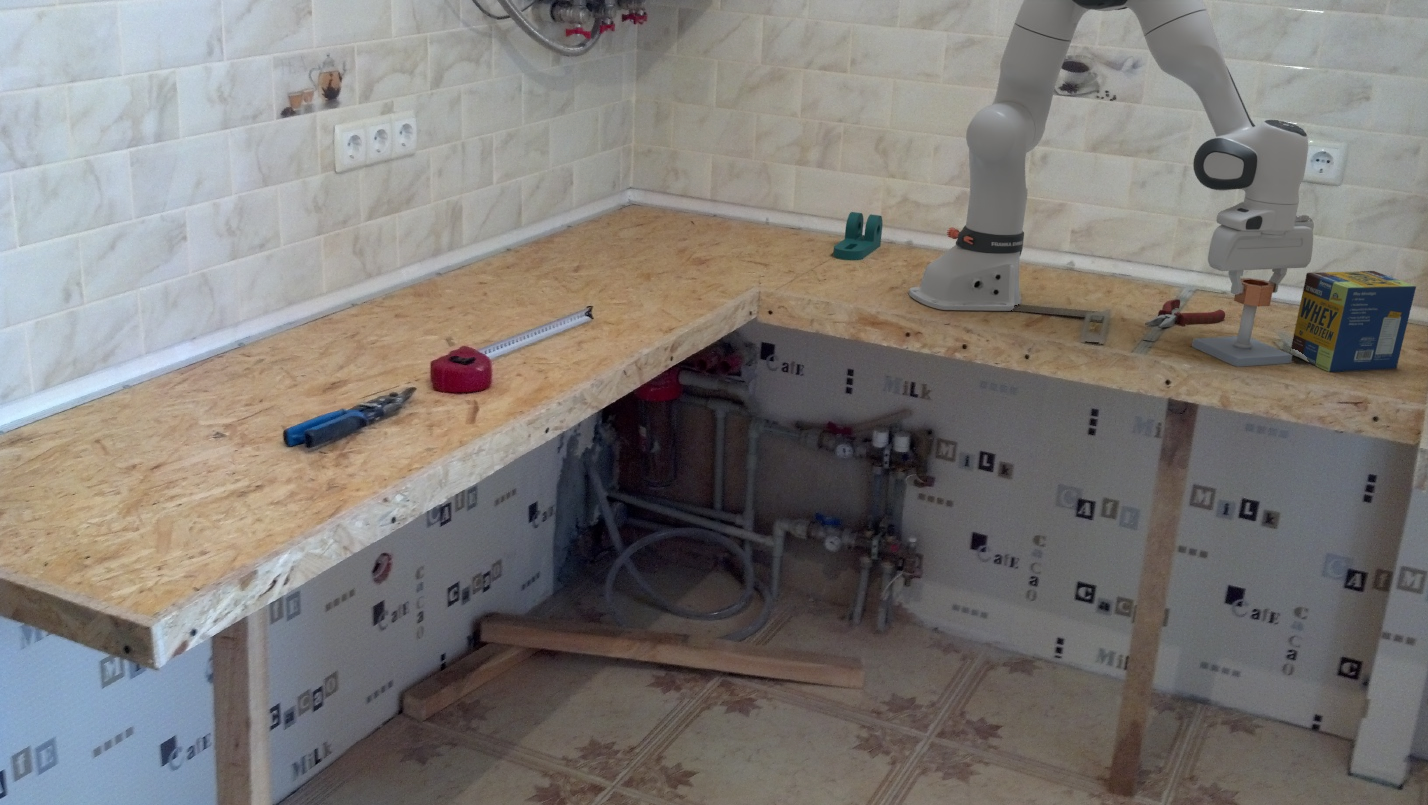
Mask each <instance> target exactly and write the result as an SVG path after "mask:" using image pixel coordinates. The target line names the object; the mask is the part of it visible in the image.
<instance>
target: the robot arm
mask: <svg viewBox="0 0 1428 805" xmlns="http://www.w3.org/2000/svg"><path fill="white" fill-rule="evenodd" d="M1126 9H1129V10H1131V11H1132V12H1133V13H1134V14H1135V16H1136V18H1137V20H1138V23H1139V26H1140V28H1141V30H1142V33H1143V36H1144V39H1145V42H1146V45H1147V47H1148V49H1149V52H1150V54H1151V55H1152V58H1153V59H1154V60H1155V62H1156V64H1157V65H1158V68H1160V70H1161V71H1162V72H1163V73H1165V74H1166V75H1167V74H1168V75H1169V76H1172V77H1173V78H1176V79H1177V80H1179V81H1182V83H1184V84H1186V85H1187V86H1188V87H1190V88H1191V89H1192V91H1194V93H1195V94H1196V95H1197V96H1198V98H1199V100H1200V102H1201V104H1202V106H1203V109H1204V112H1205V113H1206V115H1207V118H1208V120H1209V122H1210V125H1211V127H1212V129H1213V131H1214V134H1215V137H1213V138H1210V139H1208V140H1206V141H1205V142H1203V143H1202V144H1201V145H1200V146H1199V148H1198V149H1197V151H1195V155H1194V158H1193V165H1192V166H1193V172H1194V175H1195V176H1196V177H1195V178H1196V179H1197V180H1198V182H1200V184H1201V185H1203V187H1205V188H1208V189H1210V190H1215V191H1219V192H1220V191H1221V192H1222V191H1224V192H1225V191H1232V190H1242V191H1244V192H1245V194H1244V199H1243V201H1242V202H1240V203H1237V204H1235V205H1232V206H1231V207H1229V208H1225V209H1223V210H1220V211H1218V213H1217V215H1216V220H1215V221H1216V223H1217V224H1219V226H1216V228H1215V229H1214V231H1213V233H1212V237H1211V240H1210V244H1209V249H1208V254H1207V262H1208V265H1209V266H1210V268H1212V269H1214V270H1217V271H1221V272H1228V276H1229V280H1230V282H1231V285H1230V286H1231V287H1230V288H1231V289H1230V293H1231V294H1233V295H1234V296H1235V295H1238V294H1243V293H1244V289H1245V285H1243V284H1242V283H1241V279H1242V278H1241V277H1243V276H1244V271H1258V270H1259V271H1260V270H1271V273H1272V275H1271V276H1270V279H1269V281H1268V282H1271V283H1273V284H1274V287H1273V292H1272V294H1275V293H1277V292H1278V289H1279V284H1280V283H1281V282H1282V280H1284V278H1285V277H1286V276H1287V273H1288V272H1287V271H1288V269H1300V268H1304V269H1305V268H1307V267H1308V266H1309V264H1310V263H1311V262H1312V256H1313V249H1314V248H1313V246H1314V226H1315V223H1314V221H1313V219H1312V218H1311V217H1310V216H1309V215H1305V214H1303V215H1297V212H1298V207H1299V203H1300V196H1299V190H1300V186H1301V184H1302V182H1303V180H1304V177H1305V172H1306V168H1307V167H1306V166H1307V160H1308V151H1309V140H1308V139H1309V138H1308V134H1307V133H1306V131H1305V130H1304V129H1303V128H1302V127H1300V126H1298V125H1296V124H1294V123H1291V122H1287V121H1284V120H1279V119H1267V120H1266V119H1265V120H1263V121H1262V122H1261V123H1259V124H1257V125H1255V123H1254V122H1253V120H1252V119H1251V117H1250V115H1249V113H1248V111H1247V107H1246V106H1245V104H1244V101H1243V99H1242V97H1241V95H1240V94H1241V93H1240V92H1239V89H1238V87H1237V85H1236V83H1235V81H1234V79H1233V76H1232V73H1231V72H1230V70H1229V68H1228V66H1227V63H1226V61H1225V58H1224V56H1223V53H1222V50H1221V47H1220V45H1219V41H1218V39H1217V36H1216V32H1215V30H1214V27H1213V24H1212V21H1211V18H1210V16H1209V12H1208V10H1207V7H1206V5H1205V2H1204V0H1023V1H1022V3H1021V5H1020V8H1019V11H1018V13H1017V15H1016V19H1015V21H1014V24H1013V25H1012V29H1011V32H1010V34H1009V37H1008V40H1007V44H1006V46H1005V48H1004V52H1003V54H1002V56H1001V60H1000V64H999V67H1000V68H999V70H1000V71H999V78H998V83H997V89H996V92H995V93H996V94H995V96H994V99H993V101H992V103H991V104H990V105H987V106H985V107H983V108H982V109H980V110H979V111H978V112H977V113H976V114H975V115H974V116H973V118H972V119H971V121H970V122H969V124H968V126H967V129H966V135H965V138H966V144H967V147H968V161H969V163H968V164H969V177H970V178H969V179H970V180H969V183H970V184H969V185H970V186H969V196H968V204H967V205H968V206H967V211H966V212H967V214H966V222H965V225H964V226H963V227H962V229H961V231H960V230H959V229H958V228H954V227H949V228H948V229H947V231H946V235H947V237H948V238H951V239H953V240H956V241H955V245H954V246H951V248H949V249H948V250H946V251H945V252H944V253H942V255H939V257H937V258H935V259H933V261H931V262H929V263H928V264H927V266H926V267H925V269H924V272H923V274H922V279H921V281H920V286H912V287H909V291H908V295H909V296H910V298H912V299H914V300H915V301H917V302H918V303H920V304H922V305H925V306H927V307H930V308H934V309H937V310H941V311H943V310H944V311H987V312H988V311H995V312H997V311H998V312H1001V311H1002V312H1011V310H1012V309H1013V308H1014V309H1015V307H1014V305H1017V306H1018V304H1019V305H1021V303H1022V296H1021V289H1020V288H1021V287H1020V257H1021V255H1022V251H1023V250H1024V249H1023V247H1024V241H1025V240H1024V239H1025V232H1024V231H1023V230H1024V229H1023V228H1024V223H1025V222H1024V221H1025V214H1026V208H1027V200H1028V189H1027V180H1026V157H1027V154H1028V153H1029V152H1031V151H1032V150H1033V149H1034V148H1036V147H1037V146H1038V145H1039V143H1040V141H1041V140H1042V138H1043V136H1044V134H1045V130H1046V123H1047V120H1048V116H1049V114H1050V110H1051V106H1052V101H1053V98H1054V97H1053V96H1054V92H1055V88H1056V85H1057V81H1058V78H1059V75H1060V73H1061V69H1062V67H1063V65H1064V62H1065V60H1066V56H1067V54H1068V51H1069V48H1070V46H1071V42H1072V40H1073V38H1074V34H1075V31H1076V29H1077V27H1078V24H1079V22H1080V20H1081V19H1082V17H1083V16H1084V14H1086V13H1087V12H1088V11H1090V10H1092V11H1093V10H1094V11H1099V12H1100V11H1101V12H1111V11H1121V10H1126ZM1012 311H1013V310H1012Z"/></svg>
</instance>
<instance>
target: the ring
mask: <svg viewBox="0 0 1428 805" xmlns="http://www.w3.org/2000/svg"><path fill="white" fill-rule="evenodd" d="M1240 279H1241V283H1242V284H1243V285H1245V289H1244V293H1243V294H1238V295H1235V294H1234V299H1233V301H1234V302H1236V303H1238V304H1239V303H1240V304H1242V305H1244V304H1245V305H1251V306H1257V307H1270V306H1271V302H1272V297H1273V293H1272V292H1273V287H1274V284H1273V283H1271V282H1268V281H1267V280H1265V279H1257V278H1252V277H1250V278H1249V277H1246V278H1245V277H1244V278H1240Z"/></svg>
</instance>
